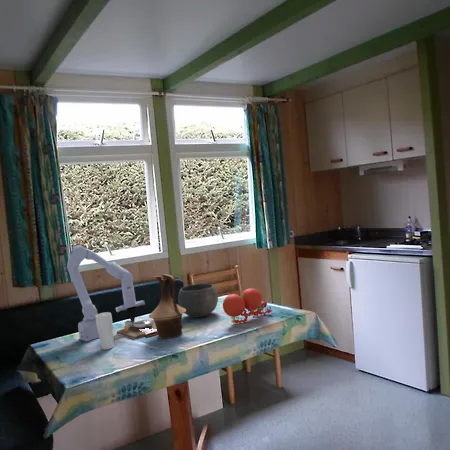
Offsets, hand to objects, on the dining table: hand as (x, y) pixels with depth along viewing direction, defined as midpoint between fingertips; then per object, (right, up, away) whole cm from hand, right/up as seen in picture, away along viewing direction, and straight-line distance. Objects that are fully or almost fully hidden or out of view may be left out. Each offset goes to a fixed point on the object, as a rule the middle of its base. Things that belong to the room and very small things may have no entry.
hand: (132, 322), depth 226 cm
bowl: (+33, +1, +9) cm, 34 cm away
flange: (+4, -1, -4) cm, 6 cm away
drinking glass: (-6, -6, -26) cm, 27 cm away
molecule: (+57, +3, -9) cm, 57 cm away
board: (+7, -3, -5) cm, 9 cm away
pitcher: (+21, -2, -18) cm, 28 cm away
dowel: (-1, -3, -10) cm, 10 cm away
